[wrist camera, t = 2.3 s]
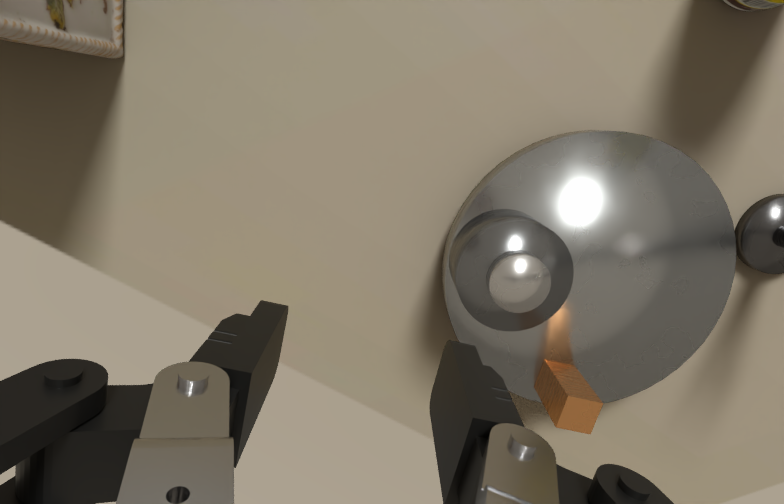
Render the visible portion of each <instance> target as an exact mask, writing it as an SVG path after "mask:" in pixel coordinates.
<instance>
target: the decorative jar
mask: <svg viewBox="0 0 784 504" xmlns="http://www.w3.org/2000/svg"><path fill="white" fill-rule="evenodd" d="M122 23H123V0H0V39H1V40H6V41H11V42H17V43H23V44H30V45H35V46H42V47H46V48H53V49H59V50H66V51H72V52H77V53H84V54H90V55H94V56H100V57H106V58H120V57H122V56H123V54H124V52H123V39H122V36H123V28H122Z"/></svg>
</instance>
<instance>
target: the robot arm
mask: <svg viewBox="0 0 784 504" xmlns="http://www.w3.org/2000/svg"><path fill="white" fill-rule="evenodd" d="M287 315H288V306H286V305H282V304H277V303H272V302H267V301H263V300H261V301H260V302H259V304H258V305H257V307H256V308H255V310H254V311H253V313H252V314H251V316H247V315H242V314H234V315H232V316H230V317H228V318H226V319H223V320H222V321H221V322H220V324H219V325H218V326H217V327H216V328H215V330H214V332H212V333H211V335H210V336H209V337H208V340H206V341H205V342H204V343H203V345H202V346H201V347H200V348H199V349H198V351H197V352H196V353H195V355H194V356H193V357H192V358H191V359H190V361H189V362H182V363H177V364H174V365H171V366H168V367H166V368H164V369H163V370H161V371H160V372H159V373H158V374H157V375H156V377H155V380H154V383H153V384H147V385H107V383H108V373H107V371H106V369H105V368H104V367H103V366H101V365H99V364H97V363H94V362H92V361H88V360H81V359H61V360H55V361H49V362H45V363H42V364H39V365H37V366H34V367H31V368H29V369H27V370H24V371H22V372H20V373H18V374H16V375H13V376H11V377H9V378H7V379H4V380H2V381H0V474H2V473H3V472H5V471H7V470H8V469H10V468H11V467H13V466H15V465H16V475H15V476H14V477H13V478H11V479H10V480H8V481H7V482H5V483H4V484H2V485H0V504H96V503H104V502H115V501H117V502H116V504H234V468H236V466H237V463H238V461H239V459H240V456H241V454H242V452H243V449H244V447H245V445H246V442H247V440H248V438H249V435H250V433H251V431H252V428H253V426H254V424H255V421H256V419H257V417H258V414H259V412H260V410H261V407H262V405H263V403H264V400H265V398H266V396H267V393H268V391H269V389H270V387H271V384H272V382H273V379H274V376H275V373H276V370H277V366H278V362H279V357H280V352H281V347H282V341H283V336H284V331H285V326H286V320H287ZM430 417H431V423H432V430H433V437H434V444H435V450H436V457H437V464H438V470H439V477H440V484H441V490H442V497H443V504H674V503H673V502H672V501H671V500H670V499H669V498H668V497H667V496H666V495H665V494H663V493H662V492H661V491H660V490H659V489H658V488H657V487H656V486H655V485H654V484H653V483H652V482H650V481H649V480H648V479H646V478H645V477H643V476H642V475H640V474H638V473H636V472H634V471H632V470H630V469H628V468H625V467H622V466H619V465H614V464H604V465H601V466H600V467H598V469H597V471H596V473H595V475H594V478H593V480H592V479H589V478H587V477H585V476H582V475H580V474H577V473H575V472H572V471H570V470H568V469H565V468H563V467H561V466H559V465H557V464H556V457H555V453H554V451H553V449H552V447H551V446H550V445H549V444H548V442H547V441H545V440H544V439H543V438H542V437H541V436H539V435H538V434H536V433H535V432H533V431H531V430H529V429H527V428H525V427H524V425H523V423H522V420H521V418H520V416H519V414H518V412H517V409H516V407H515V405H514V403H513V402H512V398H511V396H510V394H509V392H508V389H507V387H506V385H505V382H504V380H503V378H502V377H501V376H500V375H499V374H498V373H497V372H496V371H495V370H494V369H493V368H492V367H491V366H486V365H483V364H482V361H481V359H480V356H479V354H478V351H477V349H476V346H475V345H470V344H465V343H460V342H456V341H451V340H449V341H448V342H447V343H446V345H445V348H444V351H443V355H442V358H441V361H440V365H439V368H438V372H437V375H436V378H435V382H434V385H433V389H432V393H431V399H430Z"/></svg>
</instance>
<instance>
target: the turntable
mask: <svg viewBox="0 0 784 504" xmlns="http://www.w3.org/2000/svg"><path fill="white" fill-rule="evenodd" d="M495 209H512V210H517V211H521V212H523V213H526V214H528V215H530V216H531V217H533V218H534V219H536V220H537V221H539V222H540V223H542V224H543V225H544V226H546V227H547V228H549V229H550V230H552V231H553V232H555V233H556V234H557V235H558V236H559V237H560V238H561V239H562V240H563V242H564V243H565V244H566V246H567V248H568V250H569V252H570V254H571V257H572V261H573V268H574V277H573V283H572V287H571V290H570V293H569V295H568V297H567V299H566V301H565V302H564V304H563V305H562V306H561V308H560V309H559V310H558V311H557V312H556V313H555V314H554V315H553V316H552V317H551V318H549V319H548V320H546V321H545V322H543V323H542V324H540V325H538V326H535V327H533V328H530V329H526V330H522V331H513V332H512V331H500V330H496V329H492V328H489V327H487V326H485V325H483V324H481V323H480V322H478V321H477V320H476V319H474V318H473V317H472V316H471V315H470V314H469V313H468V311H467V310H466V309H465V307H464V305H463V304H462V302H461V300H460V297H459V295H458V292H457V290H456V287H455V285H454V282H453V280H452V277H451V274H450V270H449V254H450V249H451V246H452V243H453V241H454V239H455V237H456V235H457V234H458V232H459V231H460V230H461V229H462V227H463V226H464V225H465V224H466V223H468V222H469V221H470V220H471V219H473V218H474V217H476V216H478V215H480V214H482V213H484V212H487V211H491V210H495ZM735 265H736V238H735V232H734V226H733V221H732V218H731V215H730V212H729V209H728V206H727V204H726V202H725V200H724V198H723V196H722V194H721V192H720V190H719V189H718V187H717V186H716V185H715V183H714V182H713V180H712V179H711V178H710V176H709V175H708V174H707V173H706V172H705V171H704V170H703V169H702V168H701V167H700V166H699V165H698V164H697V163H696V162H695V161H694V160H692V159H691V158H690V157H688V156H687V155H685V154H684V153H683V152H681V151H680V150H678V149H676V148H674V147H672V146H670V145H668V144H666V143H664V142H662V141H659V140H656V139H653V138H650V137H647V136H644V135H639V134H633V133H627V132H617V131H595V130H588V131H577V132H569V133H565V134H560V135H556V136H552V137H549V138H546V139H544V140H541V141H538V142H535V143H533V144H531V145H529V146H527V147H525V148H523V149H521V150H519V151H517V152H516V153H514V154H513V155H511V156H510V157H508V158H507V159H505V160H504V161H502V162H501V163H499V164H498V165H497V166H496V167H495V168H494V169H493V170H492V171H490V172H489V173H488V174H487V175H486V176H485V177H484V178H483V179H482V180H481V181H480V182H479V184H478V185H477V186H476V187H475V188H474V189H473V190H472V192H471V193H470V195H469V196H468V197H467V199H466V200H465V202H464V203H463V205H462V206H461V208H460V210H459V212H458V214H457V216H456V218H455V220H454V222H453V224H452V227H451V230H450V233H449V235H448V238H447V241H446V246H445V251H444V256H443V266H442V285H443V294H444V299H445V304H446V308H447V311H448V314H449V318H450V321H451V323H452V326H453V329H454V332H455V334H456V336H457V338H458V340H459V342H460V343H465V344H470V345H475V346H476V349H477V351H478V354H479V356H480V359H481V361H482V364H483V365H486V366H491V367H492V368H493V369H494V370H495V371H496V372H497V373H498V374H499V375H500V376H501V377H502V378H503V380H504V382H505V385H506V387H507V389H508V391H510V392H512V393H514V394H516V395H519V396H521V397H524V398H526V399H529V400H533V401H536V402H540V403H543V405H544V406H545V408H546V410H547V412H548V414H549V415H550V417H551V419H552V421H553V423H554V425H555V426H556V427H557V428H562V429H567V430H572V431H577V432H581V433H586V434H591V432H592V429H593V427H594V425H595V422H596V420H597V417H598V415H599V412H600V410H601V408H602V405H603V403H607V402H612V401H616V400H619V399H622V398H625V397H628V396H631V395H633V394H636V393H638V392H640V391H643V390H645V389H647V388H649V387H650V386H652V385H654V384H656V383H657V382H659V381H661V380H663V379H664V378H665V377H667V376H668V375H670V374H671V373H672V372H674V371H675V370H676V369H678V368H679V367H680V366H681V365H682V364H683V363H684V362H686V361H687V360H688V359H689V358H690V357H691V356H692V355H693V354H694V353H695V352H696V350H697V349H698V348H699V347H700V346H701V345H702V344H703V343H704V341H705V340H706V338H707V337H708V335H709V334H710V333H711V331H712V330H713V328H714V327H715V325H716V323H717V321H718V319H719V318H720V316H721V314H722V312H723V310H724V307H725V305H726V302H727V300H728V297H729V294H730V291H731V287H732V283H733V279H734V274H735Z"/></svg>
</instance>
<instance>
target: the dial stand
mask: <svg viewBox="0 0 784 504" xmlns="http://www.w3.org/2000/svg"><path fill="white" fill-rule="evenodd" d="M735 238H736V252H737V254H738V256H739V258H740V259H741V260H742V261H743V262H744V263H745V264H746V265H748V266H750V267H752V268H754V269H757V270H759V271H762V272H765V273H770V274H780V273H784V194H776V195H772V196H768V197H766V198H764V199H761V200H760V201H758V202H756V203H755V204H754V205H752V206H751V207H750V208H749V209H748V210H747V211H746V212H745V213H744V215H743V216H742V218H741V219H740V221H739V223H738V225H737V228H736V231H735Z"/></svg>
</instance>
